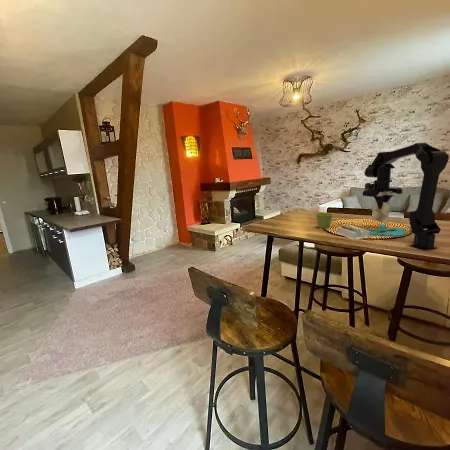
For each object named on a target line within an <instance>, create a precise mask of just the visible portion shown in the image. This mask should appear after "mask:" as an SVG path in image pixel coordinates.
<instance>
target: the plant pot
mask: <svg viewBox="0 0 450 450" xmlns="http://www.w3.org/2000/svg"><path fill="white" fill-rule="evenodd" d="M333 215H334V214H333V213H331V212H318V213H315V217H316V220H317V221H316V222H317V227H318V228H319V229H329V228H330V227H331V222H332V217H333Z"/></svg>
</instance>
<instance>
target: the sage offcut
mask: <svg viewBox="0 0 450 450" xmlns="http://www.w3.org/2000/svg"><path fill="white" fill-rule="evenodd" d="M355 227H356V226H354V227H350V228H351V231H352V232H355V233H356V237H360V229H358V228H359V227H358V228H355Z"/></svg>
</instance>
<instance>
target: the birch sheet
mask: <svg viewBox="0 0 450 450" xmlns="http://www.w3.org/2000/svg"><path fill="white" fill-rule="evenodd" d="M390 204H391V203H390V202H388V203H386V202H383V204H382V207H381V209H379V208H378V205H377V202H376V200H374V201H373V207H372V218H371V219H372V221H376V222H381V223H384V224H389V216H390V206H391V205H390Z"/></svg>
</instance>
